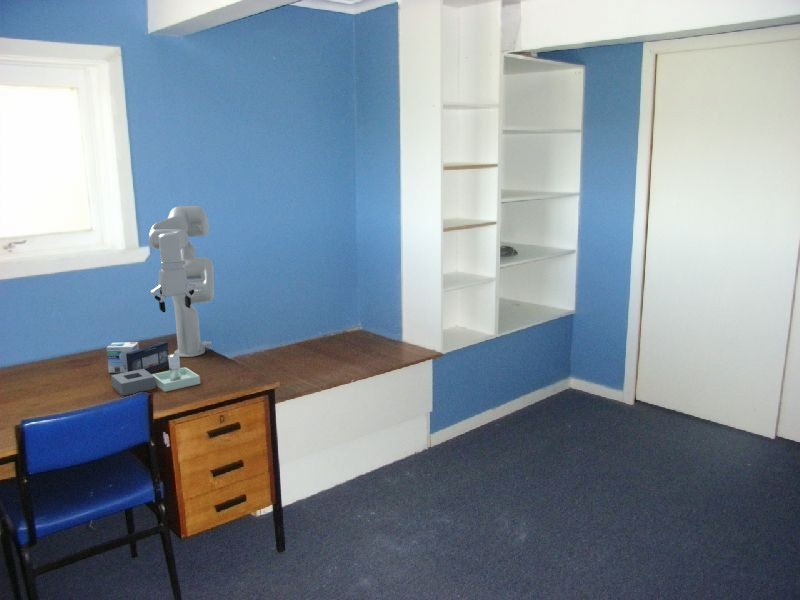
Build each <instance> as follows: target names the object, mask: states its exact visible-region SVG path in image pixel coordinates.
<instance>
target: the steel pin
mask: <svg viewBox="0 0 800 600" xmlns="http://www.w3.org/2000/svg"><path fill="white" fill-rule="evenodd" d="M168 361H169V366H168V371H169V373H170V382H172V381H176V380H181V370H180V368H181V360H180V357H179V354H174V353H173V354H170V353H169V355H168Z"/></svg>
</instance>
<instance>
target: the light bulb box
mask: <svg viewBox="0 0 800 600" xmlns="http://www.w3.org/2000/svg"><path fill="white" fill-rule="evenodd" d="M139 346H140V345H139V342H138V341H136V342H135V341H133V342H131V341H130V342H124V341H123V342H111V343H110V344H109V345H108V346H106V357H107V366H108V367H107V368H108V373H109V374H110V373H111V374H112V373H114V374H115V373H116V374H120V373H125V372H128V369H127V358H126V353H130V352H133V351H136V350H139V349H140V347H139Z"/></svg>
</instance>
